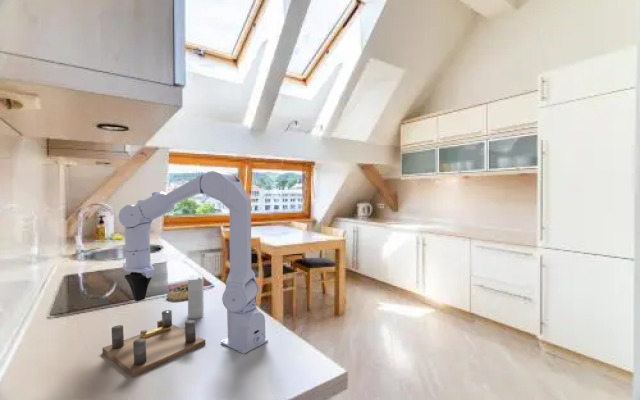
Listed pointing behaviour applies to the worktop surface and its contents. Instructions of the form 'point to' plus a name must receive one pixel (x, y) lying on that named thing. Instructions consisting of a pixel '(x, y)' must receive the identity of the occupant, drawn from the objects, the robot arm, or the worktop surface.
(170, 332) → the seat board
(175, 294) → the bread roll
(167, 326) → the bar
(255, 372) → the worktop surface
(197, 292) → the skincare box
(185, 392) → the worktop surface
